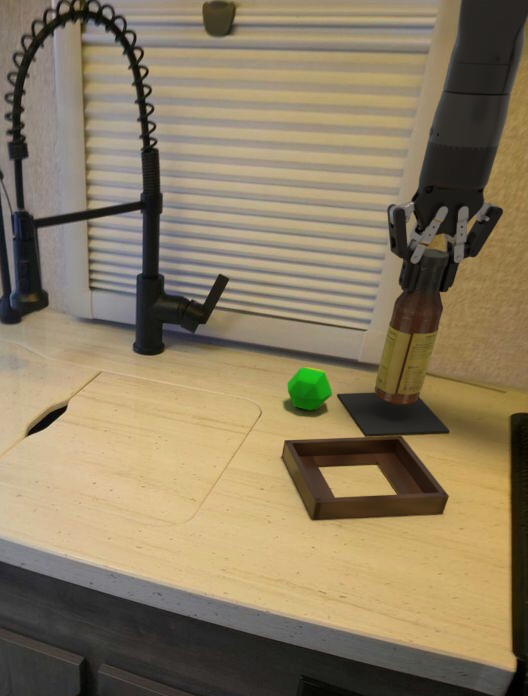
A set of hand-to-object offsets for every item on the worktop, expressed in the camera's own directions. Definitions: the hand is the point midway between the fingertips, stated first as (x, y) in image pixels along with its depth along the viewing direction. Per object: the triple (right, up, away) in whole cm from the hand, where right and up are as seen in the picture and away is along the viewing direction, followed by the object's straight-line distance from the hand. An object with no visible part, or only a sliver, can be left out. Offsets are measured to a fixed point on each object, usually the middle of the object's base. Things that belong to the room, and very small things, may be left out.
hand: (424, 290), depth 85 cm
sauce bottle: (0, -12, +9) cm, 15 cm away
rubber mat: (0, -14, +11) cm, 18 cm away
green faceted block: (-12, -13, +13) cm, 22 cm away
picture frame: (-10, -25, -3) cm, 27 cm away
